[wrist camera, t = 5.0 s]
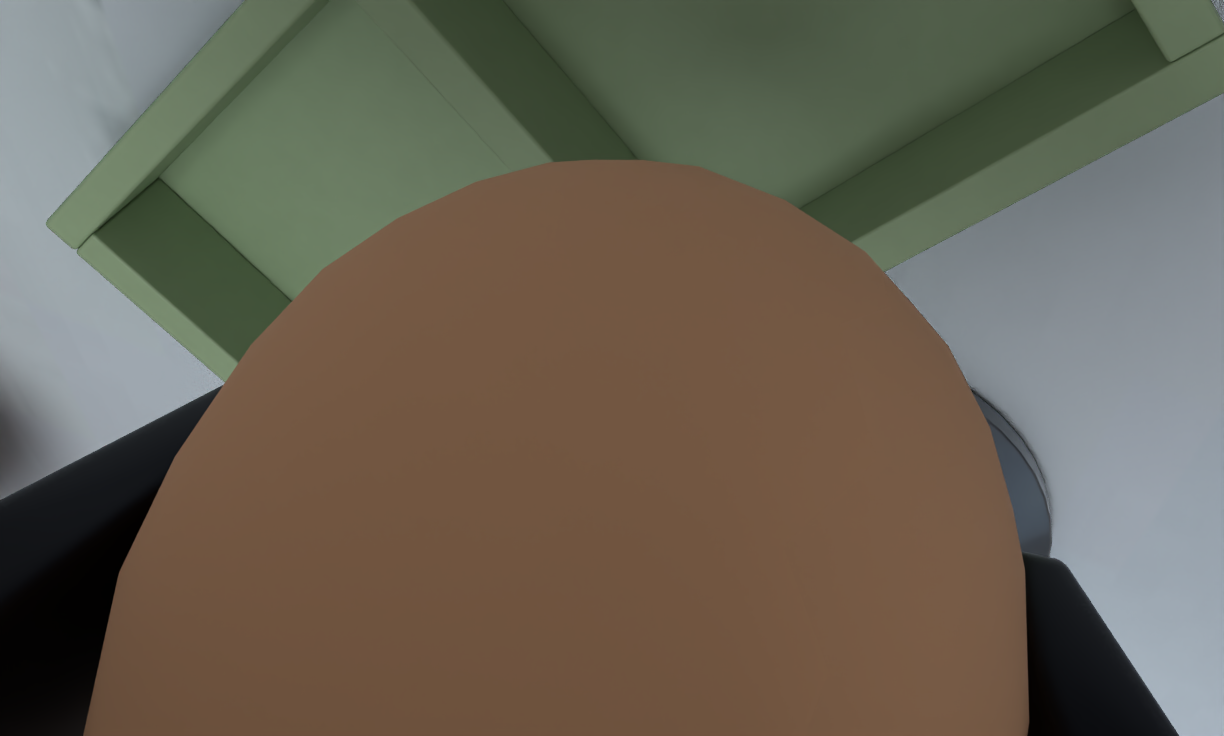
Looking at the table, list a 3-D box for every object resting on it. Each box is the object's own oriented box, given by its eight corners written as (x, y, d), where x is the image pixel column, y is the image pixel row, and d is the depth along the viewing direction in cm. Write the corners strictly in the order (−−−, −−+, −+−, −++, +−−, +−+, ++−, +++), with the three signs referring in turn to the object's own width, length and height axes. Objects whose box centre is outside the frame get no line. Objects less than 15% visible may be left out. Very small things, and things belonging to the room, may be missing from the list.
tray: (1214, 7, 17) (1254, 77, 15) (435, 452, 28) (394, 531, 25) (854, -636, 13) (839, -664, 11) (120, 162, 24) (41, 225, 22)
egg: (305, 279, 13) (-429, 1164, 6) (664, -153, 9) (-277, 979, 2) (698, 585, 15) (483, 1543, 8) (1143, 336, 11) (1516, 1838, 4)
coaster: (1137, 586, 25) (1141, 606, 24) (763, 696, 31) (761, 714, 30) (879, 255, 21) (878, 271, 20) (510, 454, 27) (502, 470, 26)
